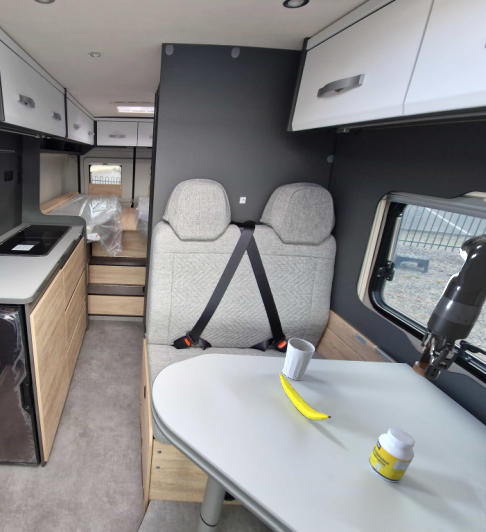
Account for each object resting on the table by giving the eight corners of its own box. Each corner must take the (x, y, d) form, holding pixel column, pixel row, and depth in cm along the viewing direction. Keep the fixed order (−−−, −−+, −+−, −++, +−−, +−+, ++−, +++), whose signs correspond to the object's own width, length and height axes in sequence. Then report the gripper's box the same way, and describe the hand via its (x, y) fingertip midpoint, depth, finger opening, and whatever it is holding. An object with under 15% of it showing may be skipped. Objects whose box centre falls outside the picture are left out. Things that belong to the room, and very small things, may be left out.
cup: (282, 363, 111) (290, 335, 107) (306, 372, 107) (316, 344, 103) (277, 375, 105) (286, 345, 101) (303, 385, 101) (313, 355, 97)
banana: (280, 384, 101) (284, 368, 99) (328, 433, 84) (335, 416, 82) (272, 385, 100) (277, 369, 98) (319, 435, 83) (326, 417, 81)
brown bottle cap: (433, 371, 83) (436, 365, 82) (440, 381, 79) (443, 376, 78) (410, 364, 85) (413, 358, 85) (415, 374, 81) (418, 369, 80)
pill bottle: (365, 453, 79) (381, 419, 75) (396, 465, 76) (414, 430, 72) (370, 475, 73) (388, 440, 69) (404, 489, 71) (424, 453, 67)
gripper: (488, 334, 68) (454, 393, 74) (462, 308, 80) (435, 361, 86) (444, 323, 71) (415, 381, 78) (425, 300, 83) (401, 352, 89)
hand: (425, 370), depth 82 cm, fingers closed on brown bottle cap, 5 cm apart
